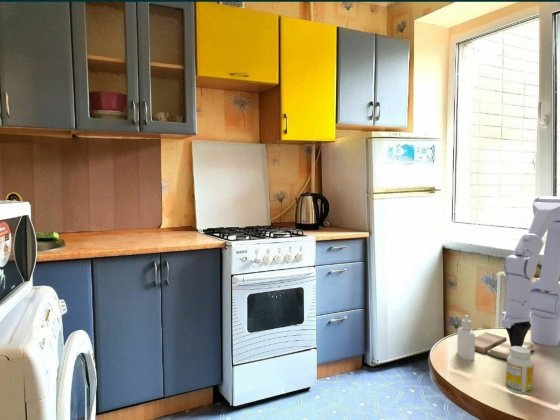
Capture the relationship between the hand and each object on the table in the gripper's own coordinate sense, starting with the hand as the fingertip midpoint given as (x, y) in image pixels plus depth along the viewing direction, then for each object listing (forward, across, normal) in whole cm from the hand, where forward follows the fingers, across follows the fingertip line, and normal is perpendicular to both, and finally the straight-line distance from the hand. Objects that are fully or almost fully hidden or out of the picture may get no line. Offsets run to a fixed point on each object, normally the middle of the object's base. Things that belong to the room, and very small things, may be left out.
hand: (516, 348), depth 115 cm
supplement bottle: (+3, +19, +8) cm, 21 cm away
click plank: (+2, 0, -2) cm, 2 cm away
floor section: (+2, 0, -5) cm, 6 cm away
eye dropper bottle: (+3, +12, -8) cm, 15 cm away
